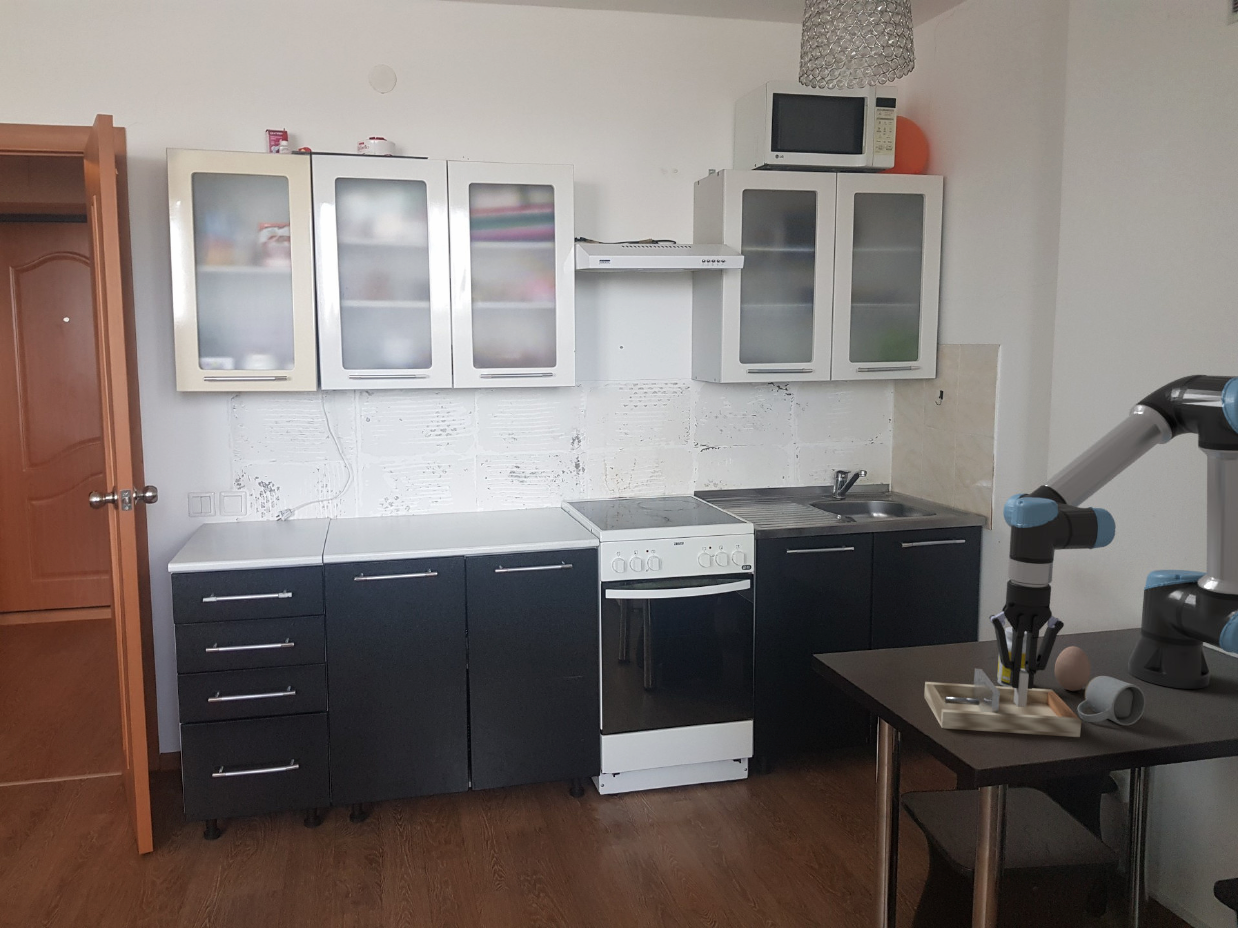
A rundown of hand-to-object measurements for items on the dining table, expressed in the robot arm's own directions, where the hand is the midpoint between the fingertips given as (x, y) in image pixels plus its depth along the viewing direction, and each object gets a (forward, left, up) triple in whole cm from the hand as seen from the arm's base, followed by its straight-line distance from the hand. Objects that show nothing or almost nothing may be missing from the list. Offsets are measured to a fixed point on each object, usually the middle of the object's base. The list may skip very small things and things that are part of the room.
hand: (1019, 704), depth 180 cm
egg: (-15, -17, -3) cm, 23 cm away
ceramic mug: (-17, -2, -3) cm, 17 cm away
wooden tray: (+4, 0, -3) cm, 5 cm away
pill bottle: (-4, -18, -3) cm, 19 cm away
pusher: (+10, 0, -2) cm, 10 cm away
